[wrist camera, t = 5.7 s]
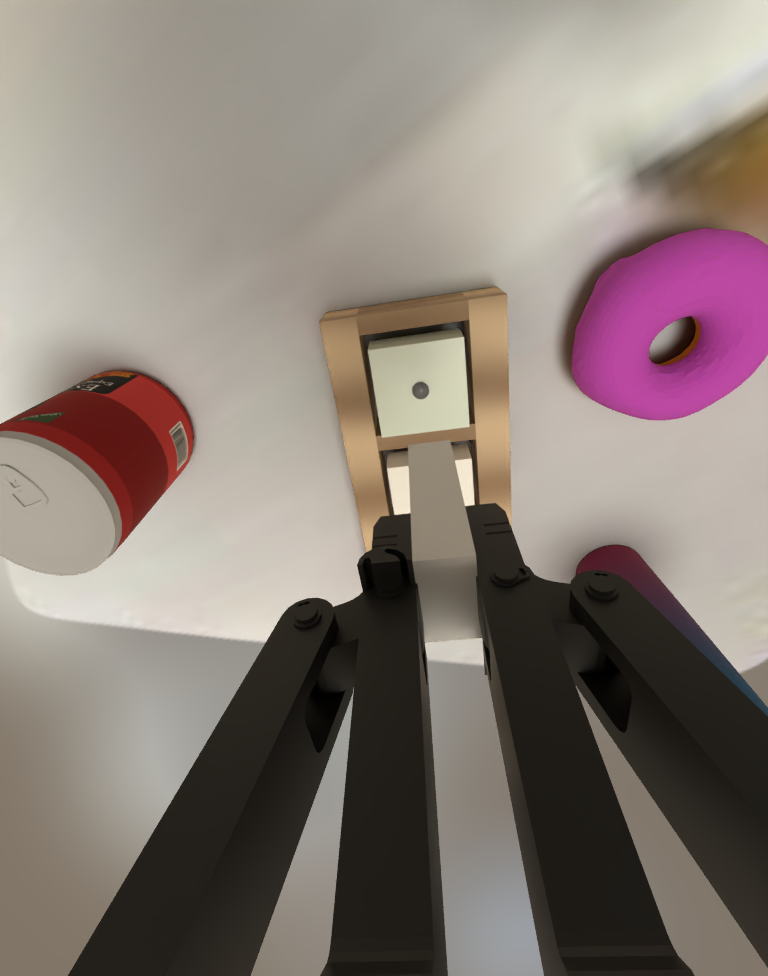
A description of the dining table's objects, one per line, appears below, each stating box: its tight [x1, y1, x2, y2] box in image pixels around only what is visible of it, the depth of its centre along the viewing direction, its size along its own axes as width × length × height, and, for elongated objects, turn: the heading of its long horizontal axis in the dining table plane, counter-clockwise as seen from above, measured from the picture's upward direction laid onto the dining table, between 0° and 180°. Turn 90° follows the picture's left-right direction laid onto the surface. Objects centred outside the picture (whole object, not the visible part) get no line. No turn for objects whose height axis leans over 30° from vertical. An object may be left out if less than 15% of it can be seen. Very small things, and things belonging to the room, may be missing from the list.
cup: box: [576, 545, 768, 716], centre depth 31 cm, size 7×7×15 cm
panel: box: [319, 287, 511, 552], centre depth 32 cm, size 22×10×3 cm, turn 8°
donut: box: [572, 228, 768, 420], centre depth 26 cm, size 10×10×4 cm
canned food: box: [0, 371, 194, 576], centre depth 28 cm, size 8×8×11 cm
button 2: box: [387, 444, 475, 515], centre depth 30 cm, size 5×5×2 cm
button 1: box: [368, 328, 470, 438], centre depth 27 cm, size 5×5×2 cm
